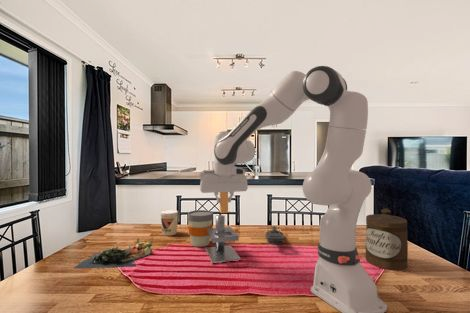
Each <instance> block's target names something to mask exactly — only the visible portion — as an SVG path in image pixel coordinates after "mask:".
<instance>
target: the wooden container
mask: <svg viewBox="0 0 470 313" xmlns="http://www.w3.org/2000/svg"><path fill="white" fill-rule="evenodd" d="M380 212H381V214H380V213H379V214H377V213H374V214H367V215H366V216H365V224H366V226H365V227H366V229H365V231H366V232H365V234H366V235H365V260H366V261H367V263H369V264H371V265H372V264H373V266H375V267H377V266H378V268H380V267H381V269H384V268H385V270H393V271H402V270H405V269H407V268H408V260H409V259H408V256H409V252H408V251H409V249H408V247H409V246H408V220H407V219H405V218H403V217H400V216H396V215H391V213H392V210H390V209H389V208H387V207H386V208H381V210H380Z"/></svg>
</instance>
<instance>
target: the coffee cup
mask: <svg viewBox="0 0 470 313" xmlns="http://www.w3.org/2000/svg"><path fill="white" fill-rule="evenodd" d="M160 218H161V219H160V220H161V222H160V223H161V234H162V236H168V237H169V236H174V235H176V234H177V231H178V219H179V211H178V210H176V209H166V210H163V211H161V212H160Z"/></svg>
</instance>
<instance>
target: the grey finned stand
mask: <svg viewBox="0 0 470 313" xmlns="http://www.w3.org/2000/svg"><path fill="white" fill-rule="evenodd" d="M225 221H226V217H225V215H222V214H218V215H216V216H215V227H212V228H208V229H207V234H208V236H209V237H210V241H211V242H212V244H215V246H209V247H208V246H205V247H204V249H206V250H205V252H206V251H207V252H206V254H207V253H208V254H207V256H208V255H209V257H210V259H211V261H210V263H211V262H212V263H215V262H225V261H233V260H241V261H242V259H241V256H239V254H238V253H237V251H236V250H235V249H234V248H233V246H232V245H229V244H228V245H225V244H226V243H227V242H238V241H239V239H240V237H239V234H238V233H237V232H236V231H235V230H234V229H233V228H232V227H231V226H226V225H225ZM209 257H208V258H209ZM210 259H209V260H210ZM212 263H211V264H212Z"/></svg>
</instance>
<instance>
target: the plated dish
mask: <svg viewBox="0 0 470 313" xmlns="http://www.w3.org/2000/svg"><path fill="white" fill-rule="evenodd" d="M139 240H140V238H137V239H136V243H135V245H134V244H133V245H131V246H130V245H128V246H127V247H125V248H119V247H118V246H116V247H114V246H113V247H110V248H105V249H103V250H101V251H96V252H95V253H93V254H92V256H91V257H88V258H85V259H83V260H81V262H79V263H78V264H77V265H76V266H74V267H73V269H99V268H102V269H103V268H106V269H107V268H132V267H133V268H135V267H137V268H138V266H139V265H138V264H136V263H137V262H138V260H139V259H140V260H141V259H142V257H143V258H144V256H145V257H146V256H149V255H150V254H151V252H152V246H153V240H154V238H153V237H152V238H151V241H150V243H149V242H148V241H147V242H145V241H142V242H139ZM139 262H140V261H139ZM139 262H138V263H139ZM136 265H138V266H136Z"/></svg>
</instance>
